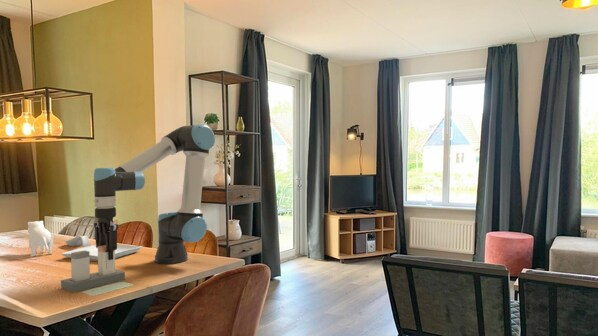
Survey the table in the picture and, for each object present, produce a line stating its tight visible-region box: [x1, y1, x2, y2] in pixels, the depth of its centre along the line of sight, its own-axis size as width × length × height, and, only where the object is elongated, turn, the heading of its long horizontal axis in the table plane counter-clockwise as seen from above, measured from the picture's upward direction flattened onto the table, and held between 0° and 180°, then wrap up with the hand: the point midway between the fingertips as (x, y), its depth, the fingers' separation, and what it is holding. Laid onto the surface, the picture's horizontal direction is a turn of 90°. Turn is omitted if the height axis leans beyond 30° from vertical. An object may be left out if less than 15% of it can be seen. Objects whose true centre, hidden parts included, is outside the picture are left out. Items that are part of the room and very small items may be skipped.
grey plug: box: [70, 250, 91, 282], centre depth 158 cm, size 5×4×13 cm
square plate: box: [60, 243, 143, 262], centre depth 217 cm, size 27×27×4 cm
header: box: [60, 269, 126, 294], centre depth 162 cm, size 20×9×4 cm, turn 144°
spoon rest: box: [64, 235, 92, 248], centre depth 240 cm, size 24×12×7 cm, turn 45°
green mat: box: [81, 281, 134, 297], centre depth 157 cm, size 16×8×1 cm, turn 144°
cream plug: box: [97, 245, 116, 276], centre depth 166 cm, size 5×4×13 cm
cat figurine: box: [23, 220, 55, 258], centre depth 221 cm, size 25×10×17 cm, turn 47°
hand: (106, 267), depth 167 cm, fingers closed on cream plug, 3 cm apart
